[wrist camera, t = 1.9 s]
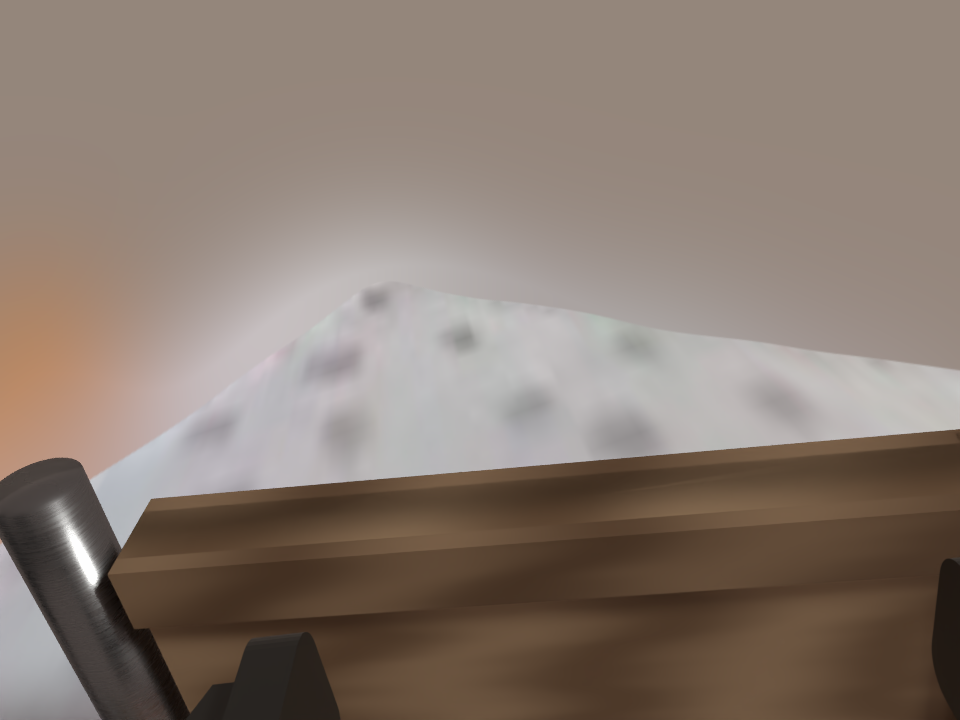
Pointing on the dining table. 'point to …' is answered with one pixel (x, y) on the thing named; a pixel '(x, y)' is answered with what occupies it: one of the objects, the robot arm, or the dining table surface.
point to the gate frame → (83, 590)
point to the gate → (577, 585)
